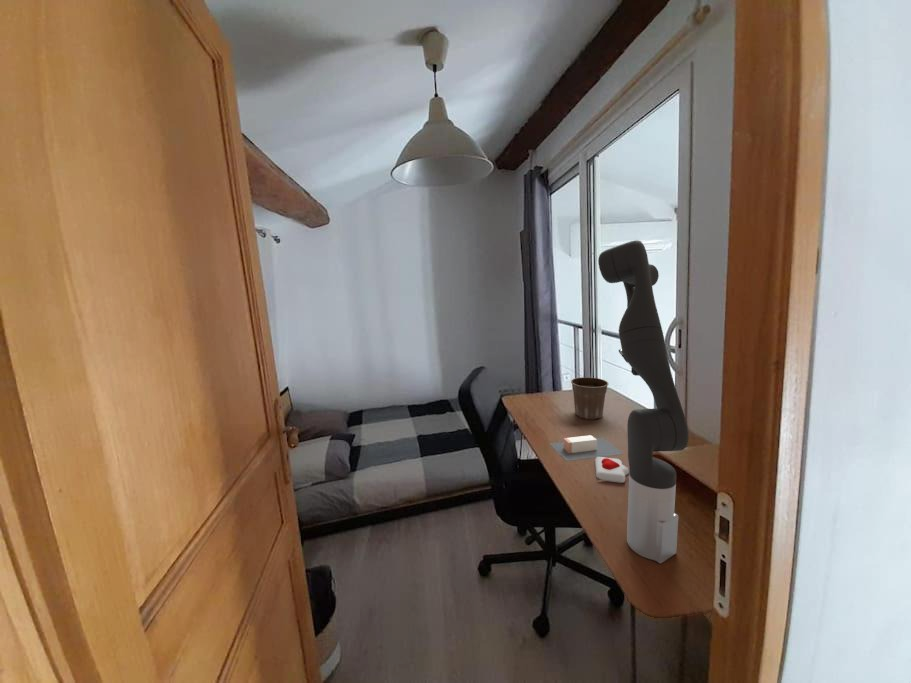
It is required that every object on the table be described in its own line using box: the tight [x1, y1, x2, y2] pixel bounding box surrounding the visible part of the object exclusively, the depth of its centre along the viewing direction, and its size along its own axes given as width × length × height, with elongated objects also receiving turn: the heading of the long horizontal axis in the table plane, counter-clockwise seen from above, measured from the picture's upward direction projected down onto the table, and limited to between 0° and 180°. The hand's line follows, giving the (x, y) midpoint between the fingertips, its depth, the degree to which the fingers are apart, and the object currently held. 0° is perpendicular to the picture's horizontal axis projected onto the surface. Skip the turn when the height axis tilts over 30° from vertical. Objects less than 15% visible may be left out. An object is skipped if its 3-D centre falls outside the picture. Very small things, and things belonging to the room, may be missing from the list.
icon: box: [594, 456, 629, 484], centre depth 112 cm, size 12×4×10 cm
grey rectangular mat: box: [549, 437, 625, 462], centre depth 129 cm, size 22×14×1 cm, turn 99°
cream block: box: [563, 434, 597, 453], centre depth 128 cm, size 4×4×11 cm
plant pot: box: [570, 376, 609, 420], centre depth 161 cm, size 16×16×16 cm
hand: (636, 375), depth 120 cm, fingers closed
